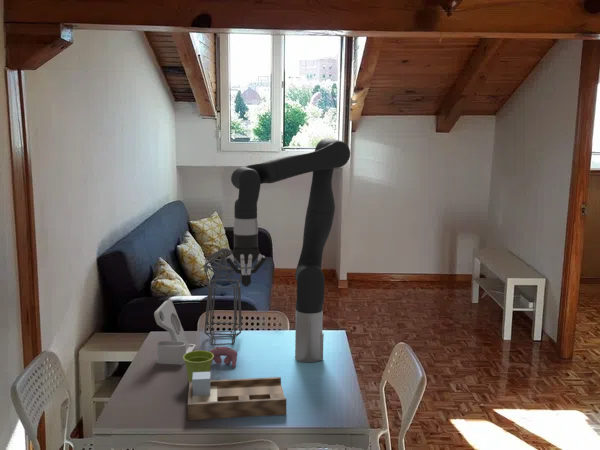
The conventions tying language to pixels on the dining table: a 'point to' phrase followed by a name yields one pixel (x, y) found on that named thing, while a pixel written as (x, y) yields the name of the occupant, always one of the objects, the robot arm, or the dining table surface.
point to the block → (201, 383)
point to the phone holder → (179, 345)
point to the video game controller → (224, 351)
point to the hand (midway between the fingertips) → (246, 285)
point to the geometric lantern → (209, 299)
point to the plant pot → (197, 362)
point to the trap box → (238, 399)
